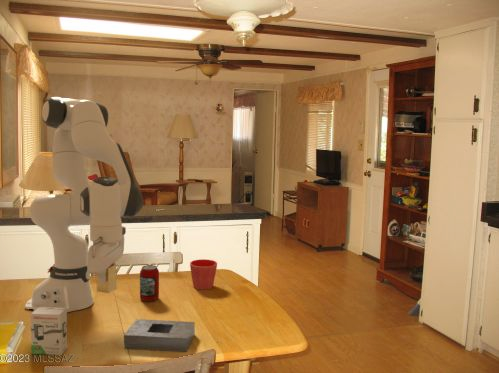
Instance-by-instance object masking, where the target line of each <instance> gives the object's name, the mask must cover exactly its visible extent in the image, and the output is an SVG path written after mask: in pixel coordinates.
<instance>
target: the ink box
mask: <svg viewBox="0 0 499 373" xmlns="http://www.w3.org/2000/svg"><path fill="white" fill-rule="evenodd" d="M67 314H68V312H67V309H66V308H53V307H38V308H36V309H35V310H32V312H31V313H30V354H31V355H49V356H50V355H52V356H53V355H54V356H57V355H58V356H61V355H62V354H63V353H64V352H65V351H66V350H67V349H68V320H67V319H68V315H67Z"/></svg>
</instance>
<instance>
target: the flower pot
mask: <svg viewBox="0 0 499 373" xmlns="http://www.w3.org/2000/svg"><path fill="white" fill-rule="evenodd" d="M189 267H190V274H191V282H192V286H193V288H194V289H197V290H202V291H203V290H204V291H205V290H210V289H213V287H214V284H215V278H216V274H217V267H218V262H217V261H215V260H213V259H202V258H201V259H195V260H194V259H193V260H191V261H190V263H189Z"/></svg>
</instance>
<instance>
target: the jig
mask: <svg viewBox="0 0 499 373" xmlns="http://www.w3.org/2000/svg"><path fill="white" fill-rule="evenodd" d="M195 324H196V323H195V321H180V320H162V319H161V320H160V319H141V318H136V319H135V321H134V322H133V323H132V324H131V326H130V327H129V328H128V330H126V332H125V333H124V335H123V349H125V350H126V349H128V350H143V351H144V350H145V351H160V352H161V351H162V352H179V353H181V352H182V353H187V352H188V350H189V348H190V346H191V343H192V341H193V339H194V336H195V333H196V332H195V330H196V329H195V328H196V327H195V326H196V325H195Z"/></svg>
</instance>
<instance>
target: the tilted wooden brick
mask: <svg viewBox="0 0 499 373" xmlns="http://www.w3.org/2000/svg"><path fill="white" fill-rule="evenodd" d="M105 276H106V277H107V282H106V283H105V284H100V283H99V277H98V275H97V274H96V292H98V293H104V294H110V293H112V292H114V291H116V290H117V264H112V265H110V266H109V267H108V268H107V269H106V272H105Z"/></svg>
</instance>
